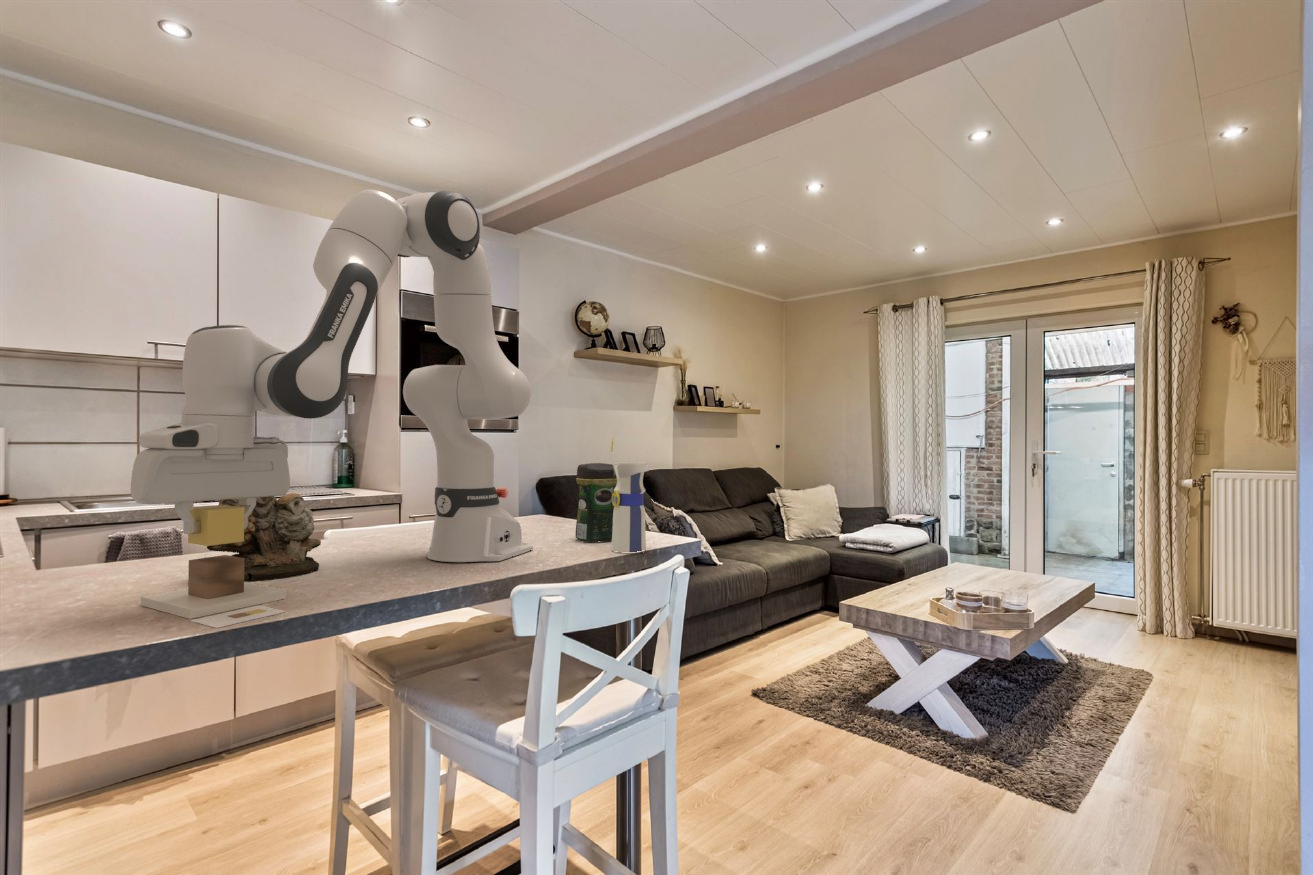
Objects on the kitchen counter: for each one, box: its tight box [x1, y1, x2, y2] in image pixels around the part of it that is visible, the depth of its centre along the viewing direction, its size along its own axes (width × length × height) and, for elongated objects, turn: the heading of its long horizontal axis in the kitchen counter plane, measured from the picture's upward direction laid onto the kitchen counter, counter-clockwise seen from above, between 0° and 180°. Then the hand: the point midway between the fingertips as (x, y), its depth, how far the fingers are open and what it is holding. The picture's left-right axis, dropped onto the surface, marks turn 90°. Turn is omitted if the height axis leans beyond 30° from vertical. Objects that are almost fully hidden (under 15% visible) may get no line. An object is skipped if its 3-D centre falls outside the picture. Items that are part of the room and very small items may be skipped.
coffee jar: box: [575, 462, 617, 543], centre depth 158 cm, size 10×8×19 cm
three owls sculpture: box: [206, 492, 322, 582], centre depth 115 cm, size 18×12×17 cm, turn 133°
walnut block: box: [187, 554, 245, 599], centre depth 96 cm, size 5×5×5 cm
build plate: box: [140, 581, 287, 620], centre depth 96 cm, size 13×13×1 cm
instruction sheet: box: [190, 604, 286, 629], centre depth 88 cm, size 9×6×1 cm, turn 152°
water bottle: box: [610, 437, 650, 552], centre depth 144 cm, size 8×9×25 cm
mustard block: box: [187, 505, 245, 547], centre depth 95 cm, size 5×5×5 cm
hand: (216, 531), depth 95 cm, fingers closed on mustard block, 5 cm apart
